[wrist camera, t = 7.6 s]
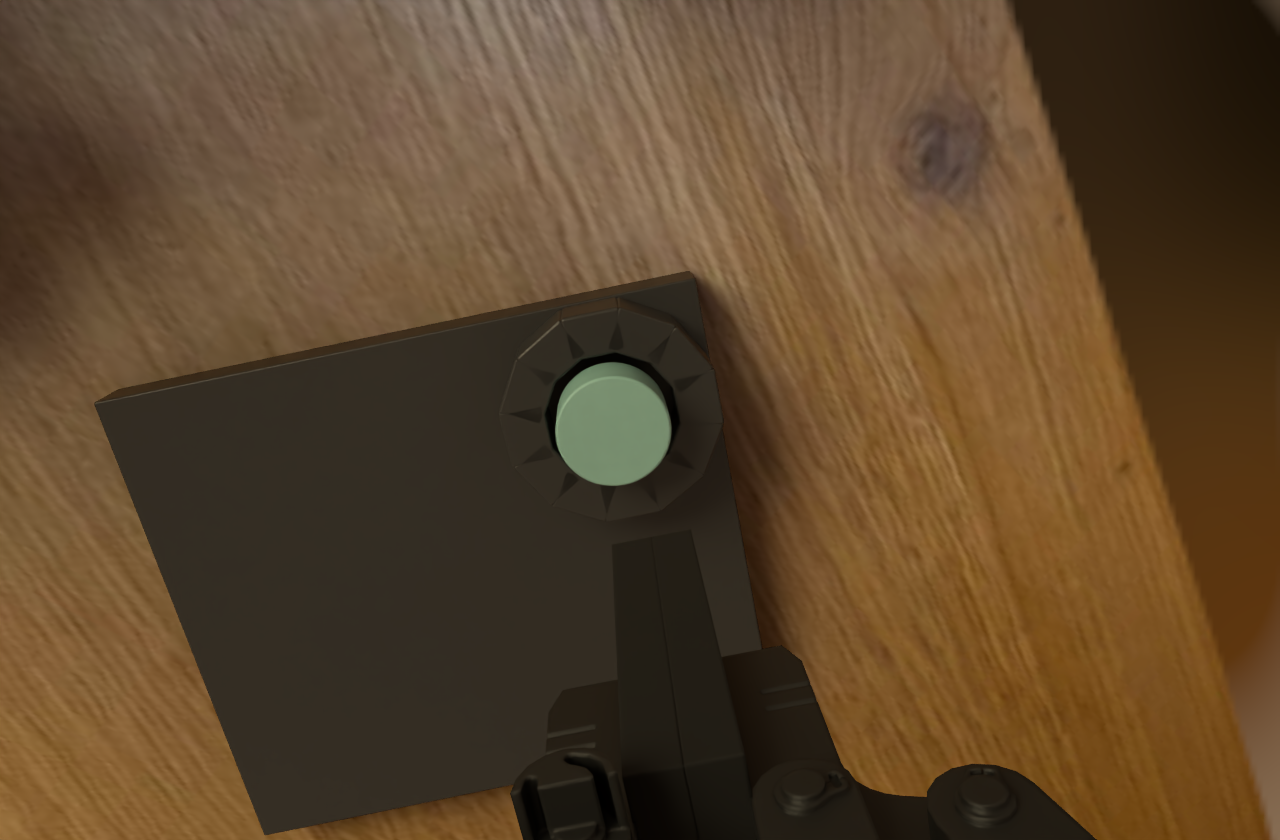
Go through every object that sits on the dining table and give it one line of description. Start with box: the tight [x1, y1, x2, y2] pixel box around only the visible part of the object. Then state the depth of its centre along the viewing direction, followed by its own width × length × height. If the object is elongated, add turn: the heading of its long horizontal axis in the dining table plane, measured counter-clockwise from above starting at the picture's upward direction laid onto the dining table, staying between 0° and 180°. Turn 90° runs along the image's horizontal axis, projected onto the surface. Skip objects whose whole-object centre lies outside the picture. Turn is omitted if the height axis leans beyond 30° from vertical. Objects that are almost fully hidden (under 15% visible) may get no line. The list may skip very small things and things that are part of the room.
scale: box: [94, 271, 762, 835], centre depth 28 cm, size 17×15×3 cm
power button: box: [555, 362, 672, 486], centre depth 25 cm, size 3×3×2 cm
